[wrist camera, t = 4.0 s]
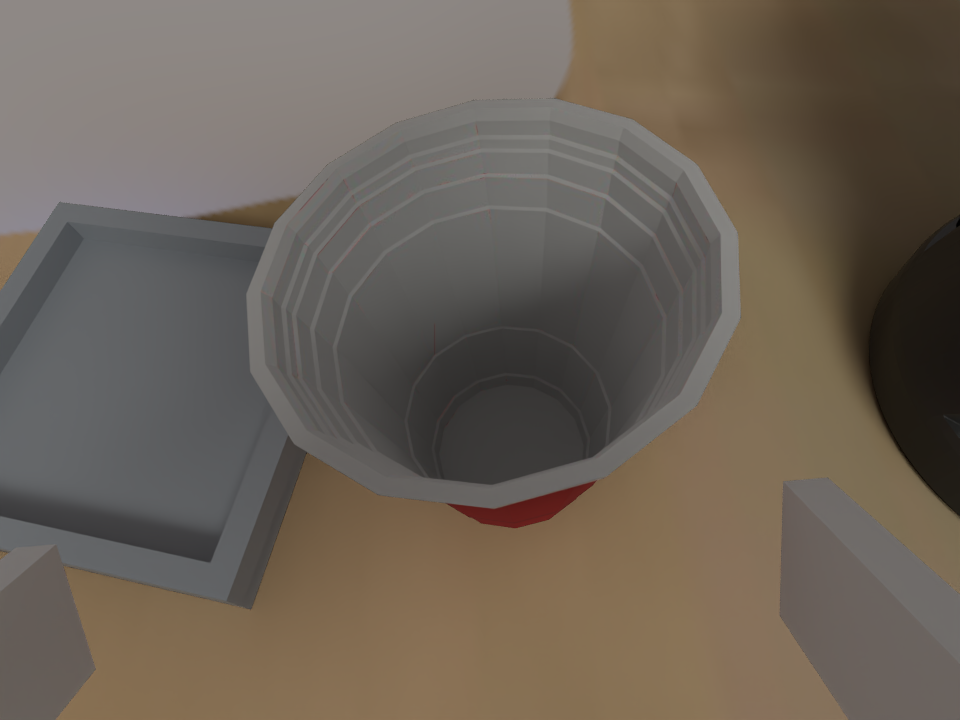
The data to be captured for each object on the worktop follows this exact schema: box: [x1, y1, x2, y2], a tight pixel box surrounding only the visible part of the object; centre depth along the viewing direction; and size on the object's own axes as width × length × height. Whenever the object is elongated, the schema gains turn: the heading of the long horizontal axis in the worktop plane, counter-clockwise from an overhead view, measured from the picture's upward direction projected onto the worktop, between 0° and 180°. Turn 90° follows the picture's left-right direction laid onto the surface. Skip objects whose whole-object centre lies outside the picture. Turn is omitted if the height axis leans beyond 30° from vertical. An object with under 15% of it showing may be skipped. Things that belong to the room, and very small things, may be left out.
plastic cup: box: [246, 98, 741, 528], centre depth 19 cm, size 11×11×12 cm
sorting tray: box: [0, 202, 307, 609], centre depth 26 cm, size 15×15×2 cm
